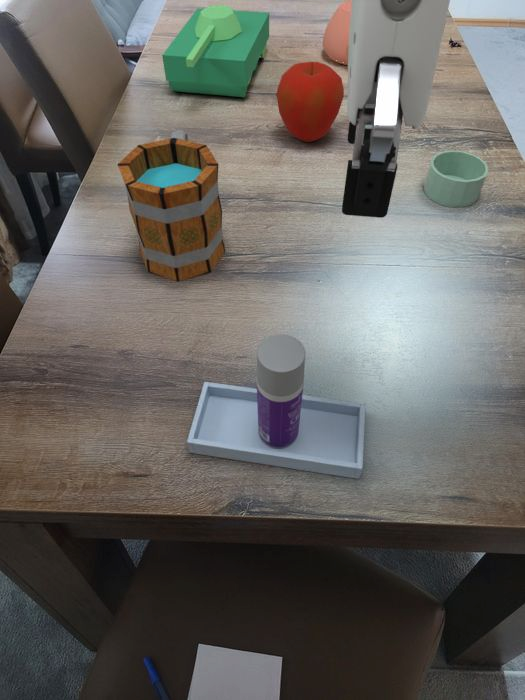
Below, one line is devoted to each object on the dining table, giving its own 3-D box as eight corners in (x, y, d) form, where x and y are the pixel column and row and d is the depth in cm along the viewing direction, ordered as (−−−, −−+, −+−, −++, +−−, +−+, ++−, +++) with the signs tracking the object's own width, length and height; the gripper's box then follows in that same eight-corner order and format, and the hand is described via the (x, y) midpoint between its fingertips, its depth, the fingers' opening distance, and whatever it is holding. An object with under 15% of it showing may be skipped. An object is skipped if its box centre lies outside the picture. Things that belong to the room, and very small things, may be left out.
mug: (223, 281, 73) (215, 194, 61) (132, 281, 73) (107, 194, 61) (229, 201, 85) (224, 116, 73) (152, 201, 85) (133, 116, 73)
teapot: (387, 79, 113) (398, 17, 104) (319, 76, 114) (324, 15, 105) (383, 41, 127) (393, -17, 117) (322, 38, 128) (327, -19, 118)
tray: (362, 415, 59) (365, 403, 57) (358, 479, 54) (362, 469, 52) (206, 393, 61) (204, 381, 59) (189, 452, 56) (186, 442, 54)
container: (296, 452, 55) (303, 376, 43) (255, 446, 56) (251, 369, 44) (300, 416, 58) (309, 335, 46) (261, 410, 59) (260, 330, 47)
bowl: (475, 178, 89) (485, 152, 85) (480, 209, 83) (491, 183, 79) (422, 173, 90) (429, 148, 86) (424, 204, 84) (432, 178, 80)
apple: (265, 144, 96) (265, 67, 85) (292, 117, 103) (295, 42, 92) (323, 160, 93) (331, 82, 82) (347, 131, 99) (357, 55, 88)
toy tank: (146, 50, 95) (195, -10, 116) (157, 114, 104) (201, 47, 125) (235, 56, 92) (269, -7, 113) (238, 121, 102) (269, 52, 123)
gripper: (521, -83, 19) (419, 253, 33) (472, -153, 30) (409, 123, 43) (330, -86, 20) (307, 243, 34) (348, -153, 31) (324, 118, 44)
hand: (365, 175), depth 38 cm, fingers open, 9 cm apart
